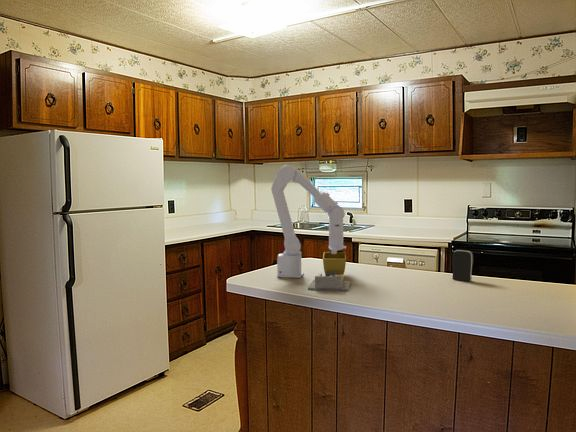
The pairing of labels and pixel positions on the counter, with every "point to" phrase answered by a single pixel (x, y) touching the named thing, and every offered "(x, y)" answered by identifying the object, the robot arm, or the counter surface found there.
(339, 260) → the flower pot
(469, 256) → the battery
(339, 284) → the gauge housing
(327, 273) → the plunger
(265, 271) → the counter surface
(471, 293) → the counter surface
